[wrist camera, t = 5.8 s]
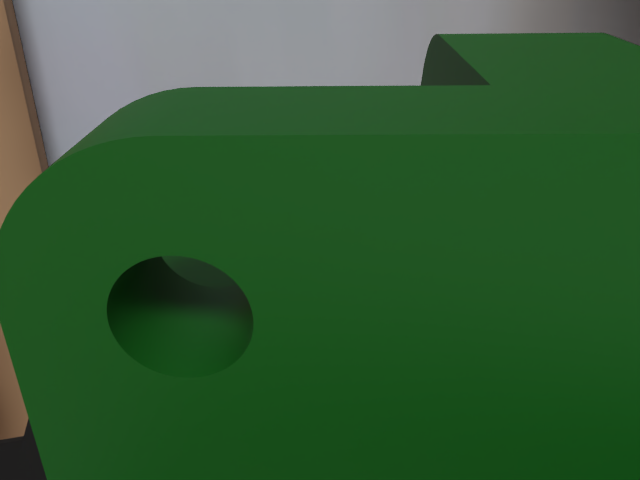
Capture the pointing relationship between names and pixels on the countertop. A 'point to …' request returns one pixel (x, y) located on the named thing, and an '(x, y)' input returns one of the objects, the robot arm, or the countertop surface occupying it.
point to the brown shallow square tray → (15, 181)
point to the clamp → (344, 277)
